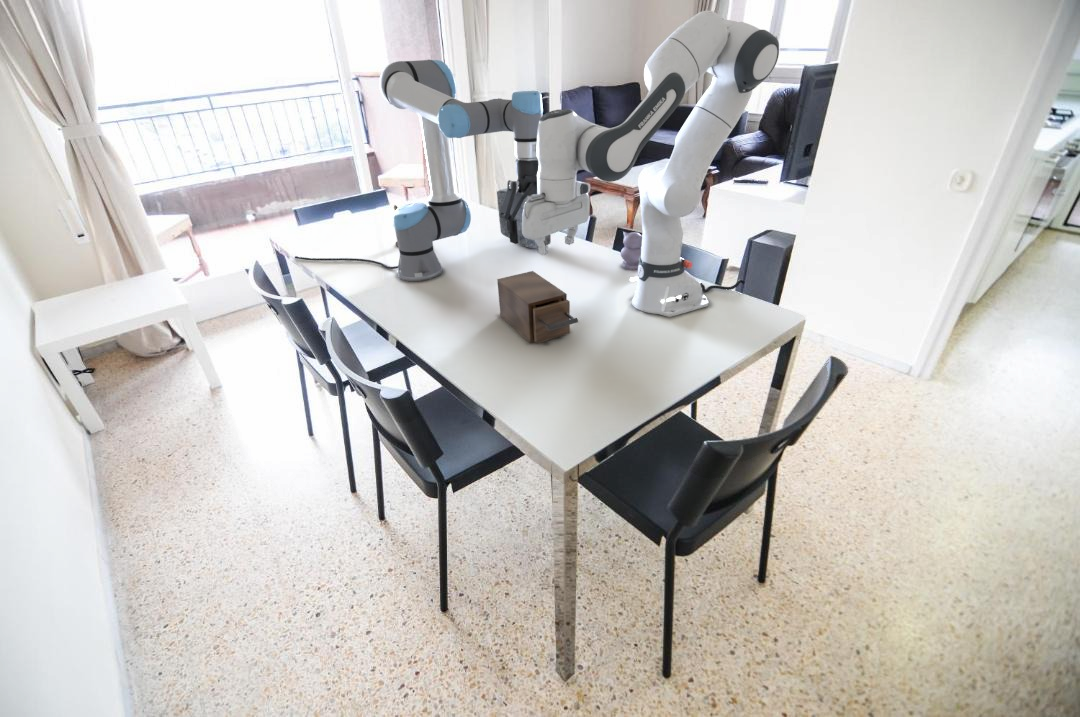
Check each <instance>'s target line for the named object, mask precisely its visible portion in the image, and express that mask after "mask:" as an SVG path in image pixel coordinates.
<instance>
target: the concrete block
mask: <svg viewBox="0 0 1080 717" xmlns="http://www.w3.org/2000/svg"><path fill="white" fill-rule="evenodd" d="M517 190H518V189H516V192H517ZM506 192H507V187H506V188H502V189H499V190H497V191H496V197H497V208H498V220H499V221H498V222H499V228H500V233H501V235H503V236H504V237H506V238H508V239H510V233H509V232H508V230H507V221H506V219H503V218H500V212H501V209H502V206H503V202H504V199H505V196H506ZM522 194H523V193H522ZM536 195H537V194H533V195H531V196H536ZM531 196H527V198H526V199H524V201H523V203H522V205H521V207H520V208H519V210H518V212H517V214H516V216H515V218H514V219H515V220H517V234H518V244H519V245H521V246H522V247H526V248H528V249H538V245H537V244H536V242H535V240H531V239H528V238H525V237H524V236H523V234H522V217H523V210H524V204H525V203H526V201H527V200H528V198H529V197H531ZM515 197H516V194H515ZM528 202H529V201H528ZM551 235H552V234H550V235H547V236H545V241H543V242H544V244H545V246H549V245H550V244H551V242H552V241H551V240H552V238H551Z"/></svg>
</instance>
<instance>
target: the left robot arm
mask: <svg viewBox="0 0 1080 717" xmlns="http://www.w3.org/2000/svg"><path fill="white" fill-rule="evenodd" d="M378 83H379V84H378V85H379V90H380V93H381V95H382V98H383V99H384V100H385V101H386V102H387V103H388V104H390V105H391V106H393V107H395V108H397V109H399V110H406V109H407V110H409V111H411V112H413V113H415V114H416V115H418V117H419V122H420V127H421V134H422V141H423V148H424V154H425V155H424V156H425V159H426V167H427V168H426V169H427V175H428V181H429V188H430V195H429V196H428V198H427V204H428V205H427V204H426V203H424V202H415V203H408V204H405V205H402V206H401V207H398V209H397V210H396V211H395V210H394V213H393V215H392V219H393V228H394V230H395V231H394V232H395V236H396V242H398V246H397V247H398V251H399V259H398V265H395V266H391V265H386V264H385V263H382V262H381V261H376V260H373V259H366V258H356V257H355V258H354V257H353V258H351V257H350V258H349V257H337V258H336V257H335V258H334V257H333V258H332V257H331V258H329V257H326V258H324V257H320V258H319V257H316V258H315V257H304V256H298V255H295V256H294V259H298V260H305V261H318V262H319V261H323V262H324V261H330V262H331V261H334V262H335V261H354V262H355V261H356V262H366V263H373V264H377V265H380V266H382V267H384V268H385V269H389V270H393V269H394V270H396V269H397V276H398V278H399V279H400V280H402V281H406V282H413V283H414V282H425V281H429V280H432V279H435V278H438V277H439V276H440V275H441V274H442V273H443V268H442V264H441V263H440V260H439V259H438V256H437V254H436V252H435V250H434V243H433V242H434V241H439V240H442V239H446V238H451V237H456V236H458V235H460V234H463V233H465V232H466V231H467V230H468V229H469V227H470V225H471V221H472V214H471V209H470V207H469V204H468V202H467V201H466V200H464V199H463V197H462V194H461V193H460V192H458V191H457V184H456V178H455V169H454V162H453V152H452V146H451V139H462V138H465V137H473V136H479V135H484V134H486V135H487V134H493V133H499V132H510V133H511V132H512V133H513V141H514V156H515V158H516V160H515V172H516V175H517V179H516V180H511V179H508V180H507V186H506V188H507V192H506V196H505V199H504V202H503V206H502V209H501V212H500V218H503V219H506V221H507V230H508V232H509V233H510V238H509V243H512V244H515V245H518V244H519V243H518V234H517V220H515V219H514V218H515V216H516V214H517V212H518V210H519V208H520V207H521V205H522V203H523V201H524V199H526V198H527V196H531V195H533V194H537V172H538V168H539V163H538V159H537V130H538V124H539V120H540V118H541V117H542V116H543V115H544V114H543V113H544V108H543V98H542V93H541V92H539V91H537V90H520V91H514V92H513V93H512V94H511V99H505V98H504V99H503V98H499V97H498V98H492V99H488V100H483V101H472V102H471V101H470V102H464V101H461V100H458V99H457V98H456V94H457V83H456V80H455V77H454V73H453V71H452V70H451V69H450V68H449V66H448V65H447V63H445V62H444V61H442V60H439V59H422V60H421V59H420V60H398V61H397V60H396V61H395V62H392V63H390V64H388V65H387V66H386V67H384V69H382V72H381V74H380V76H379V81H378ZM516 189H518V190H517V192H516ZM522 193H523V194H522ZM515 194H516V197H515Z"/></svg>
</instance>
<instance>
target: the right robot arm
mask: <svg viewBox="0 0 1080 717" xmlns="http://www.w3.org/2000/svg"><path fill="white" fill-rule="evenodd" d="M779 55H780V42H779V39H777V37H776V36H775V35H774V34H772V33H771V32H770V31H768V30H767V29H760V28H758V27H756V26H754V25H752V24H749V23H747V22H744V21H736V20H731V19H724V18H723V17H722V16H721V15H720V14H718V13H717V12H715V11H712V10H702V11H699V12H698V13H696V14H695V15H693V16H692V17H690V18H689V19H688V20H686V21H685V22H684V23H682V24H681V25H680V26H679V27H677V28H676V29H675V30H674V31H673V32H672V33H670V35H668V36H667V37H666V38H665V39H664V41H663V42H661V43H660V45H658V47H657V48H656V49H655V50H654V51H653V52H652V54H651V55H650V56H649V58H648V60H647V61H646V62H645V65H644V70H643V80H644V84H645V87H646V89H647V91H648V92H647V94H646V96H645V97H644V98H643V99H642V101H641V102H640V103H639V104H638V105H637V107H635V109H634V110H633V111H632V112H631V113H630V114H629V116H628V117H627V118H626V119H625V120H624V121H623V122H622V123H621V124H619V125H616V126H614V127H606V126H604V125H599V124H596V123H593V122H591V121H589V120H587V119H585V118H583V117H582V116H580V115H578V113H576V112H575V111H574V110H573V109H570V108H562V109H555V110H551V111H548V112H546V113H545V114H543V116H542V117H541V118H540V120H539V124H538V130H537V159H538V163H539V168H538V172H537V195H536V196H531V197H529V198H528V200H527V201H526V203H525V204H524V210H523V217H522V234H523V236H524V237H525V238H528V239H531V240H535V242H536V244H537V245H538V248H537V250H538V253H539V254H540V255H542V256H543V255H546V254H548V253H549V245H546V246H545V244H544V242H543V241H545V236H547V235H550V234H551V235H552V234H556V233H558V232H562V231H564V230H567V229H568V230H567V234H566V235H565V236H564V243H565V245H569V246H570V245H573V244H574V243H575V237H576V234H577V232H578V229H579V228H578V227H579V225H582V224H585V223H587V222H588V220H589V218H590V212H591V211H590V210H591V199H590V194H589V193H590V192H591V183H588V182H584V181H579V180H578V179H577V173H578V171H581V170H584V171H586V172H587V173H589V174H592V175H594V176H595V177H596V178H598V179H599V180H601V181H603V182H608V183H610V182H617V181H620V180H621V179H623V178H624V177H626V176H627V175H628V174H629V172H630V171H631V170H632V168H633V167H634V165H635V163H636V162H637V159H638V157H639V155H640V153H641V151H642V150H643V149H644V147H645V146H646V144H647V143H648V142H649V141H650V140H651V138H652V137H653V136H654V135H655V134H656V133H657V132H658V131H659V129H660V128H661V127H662V126H663V125H664V123H665V122H667V121H668V119H669V117H671V115H672V114H673V113H674V112H675V111H676V109H677V108H678V106H679V105H680V103H681V102H682V100H683V99H684V96H685V95H686V93H687V92H688V91H689V90H690V89H691V88H692V87H693V86H694V85H695V84H696V83H697V82H698V81H699V80H700V79H701V78H702V77H703V76H704V75H705V74H706V73H707V74H710V75H712V79H711V84H710V85H709V86H708V88H707V89H705V92H704V93H703V94H702V95H701V97H700V98H699V100H698V101H697V103H696V105H694V107H693V109H692V111H691V112H690V114H689V115H688V117H687V118H686V119H685V121H684V123H683V125H682V126H681V127H680V130H678V132H677V133H676V135H675V140H674V142H675V143H674V147H673V150H672V153H671V155H670V157H669V160H668V162H653V163H650V164H648V165H646V166H645V167H644V168H643V169H642V170H641V171H640V173H639V176H638V179H637V187H638V190H639V191H638V192H639V202H640V215H641V230H642V232H641V236H642V246H641V256H640V257H639V265H638V269H637V276H634V277H630V278H629V281H630V282H635V281H636V282H637V284H636V287H635V290H634V295H633V297H632V299H631V304H632V306H633V307H634V308H635V309H637V310H639V311H641V312H644V313H647V314H648V313H649V314H655V315H661V316H664V317H668V318H672V317H675V316H679V315H683V314H685V313H689V312H693V311H696V310H700V309H703V308H706V307H708V306H709V299H708V298H707V296H705V294H704V293H708V292H709V291H710V290H713V289H718V290H725V291H730V290H734V289H736V288H737V287H738V286H739V285H740V284H746V282H745V280H744V279H742V278H740V279H738V280H737V281H736V283H734V284H733V285H732V286H724V285H710V286H709V285H708V287H705V285H704V284H703V282H701V281H700V280H698V279H697V278H696V277H695V276H693V275H692V274H691V273H689V272H688V271H687V270H685V268H686V269H688V270H689V269H692V267H693V263H692V261H690V260H688V259H684V258H683V257H681V255H682V248H683V240H684V229H683V226H682V221H681V218H683V217H687V216H689V215H690V214H691V213H693V212H694V211H695V210H696V208H697V207H698V205H699V203H700V201H701V190H702V186H703V183H704V180H705V178H706V176H707V173H708V171H709V168H710V166H711V165H712V162H713V160H714V159H715V157H716V155H717V154H718V152H719V150H720V149H721V148H722V146H723V145H724V143H725V142H726V140H727V139H728V137H729V136H730V134H731V133H732V132H733V130H734V128H735V127H736V125H737V124H738V122H739V120H740V118H741V117H742V115H743V113H744V111H745V109H746V108H747V105H748V104H749V101H750V99H751V97H752V94H753V90H754V89H756V88H757V87H758V86H759V85H761V84H762V83H763V82H764V81H765V80H766V79H767V78H768V77H769V76H770V75H771V73H772V72H773V70H774V69H775V67H776V65H777V63H778V61H779V60H778V59H779ZM528 201H529V202H528ZM726 289H727V290H726Z"/></svg>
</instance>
